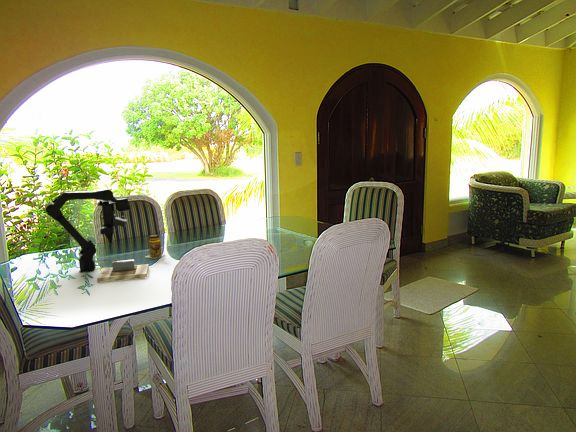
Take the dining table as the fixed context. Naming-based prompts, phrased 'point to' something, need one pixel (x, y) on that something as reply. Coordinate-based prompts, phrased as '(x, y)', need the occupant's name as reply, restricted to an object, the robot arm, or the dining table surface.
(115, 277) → the rack
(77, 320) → the dining table surface
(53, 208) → the robot arm
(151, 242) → the condiment
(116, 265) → the panel
